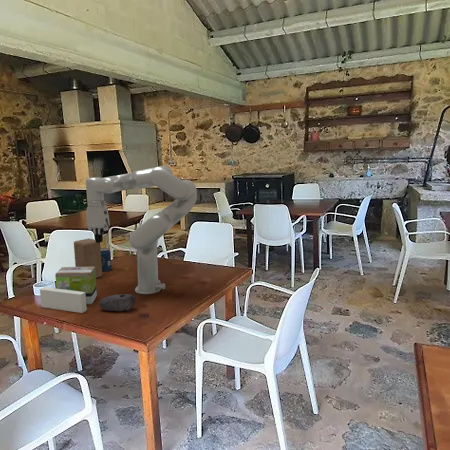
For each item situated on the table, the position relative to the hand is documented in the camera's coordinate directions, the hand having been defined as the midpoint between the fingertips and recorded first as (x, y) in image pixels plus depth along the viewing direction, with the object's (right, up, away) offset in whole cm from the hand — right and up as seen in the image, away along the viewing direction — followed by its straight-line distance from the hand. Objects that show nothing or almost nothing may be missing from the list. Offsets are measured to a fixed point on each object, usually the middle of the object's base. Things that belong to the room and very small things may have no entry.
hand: (99, 242), depth 189 cm
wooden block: (-12, -20, +22) cm, 32 cm away
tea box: (-6, -26, -11) cm, 29 cm away
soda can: (-8, -17, +35) cm, 40 cm away
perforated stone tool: (+15, -28, -22) cm, 39 cm away
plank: (-9, -27, -20) cm, 35 cm away
